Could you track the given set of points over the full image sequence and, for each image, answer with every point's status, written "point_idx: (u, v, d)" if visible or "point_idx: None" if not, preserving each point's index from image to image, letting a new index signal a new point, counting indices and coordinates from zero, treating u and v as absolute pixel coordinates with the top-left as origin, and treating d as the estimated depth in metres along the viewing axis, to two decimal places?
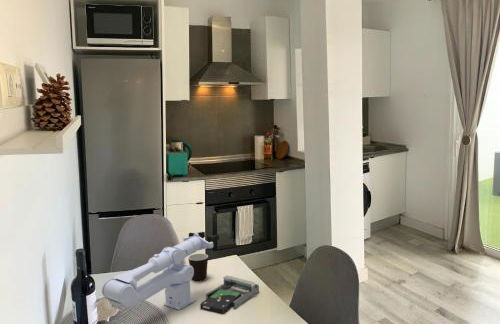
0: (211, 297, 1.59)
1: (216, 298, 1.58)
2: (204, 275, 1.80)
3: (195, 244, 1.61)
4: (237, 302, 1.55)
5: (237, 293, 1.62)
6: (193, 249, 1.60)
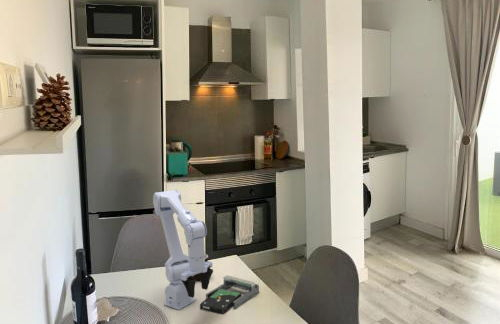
0: (211, 297, 1.59)
1: (216, 298, 1.57)
2: None
3: (194, 261, 1.42)
4: (237, 302, 1.55)
5: (237, 293, 1.62)
6: (188, 256, 1.44)
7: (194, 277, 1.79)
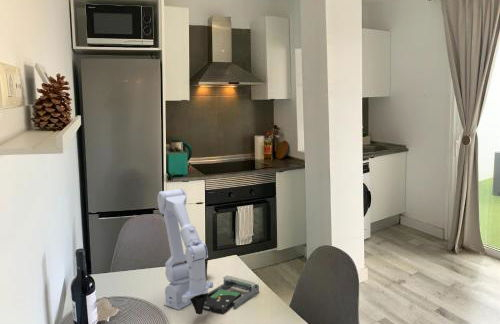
0: (211, 297, 1.59)
1: (216, 298, 1.57)
2: None
3: (195, 283, 1.43)
4: (237, 302, 1.55)
5: (237, 293, 1.62)
6: (189, 277, 1.44)
7: None
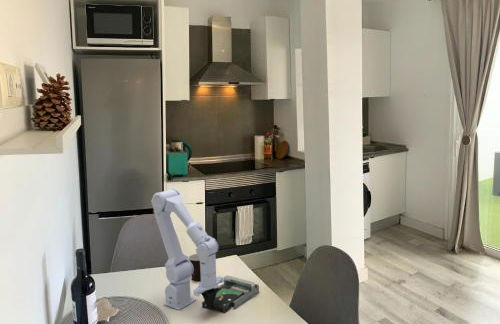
0: None
1: (219, 297, 1.59)
2: None
3: (206, 277, 1.48)
4: (237, 302, 1.55)
5: (239, 292, 1.63)
6: (202, 273, 1.48)
7: (194, 277, 1.79)
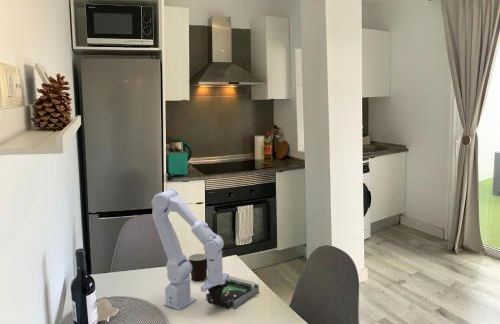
0: None
1: (225, 293, 1.62)
2: (204, 275, 1.80)
3: (212, 274, 1.51)
4: (237, 302, 1.55)
5: (246, 289, 1.65)
6: (211, 270, 1.51)
7: (194, 277, 1.79)
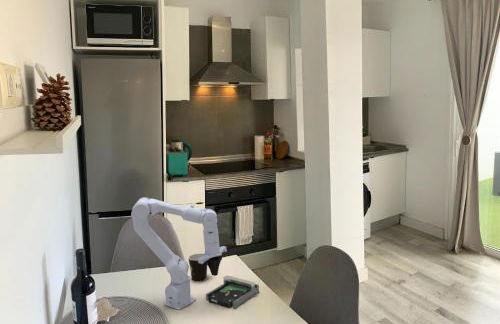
0: (220, 291, 1.64)
1: (225, 293, 1.62)
2: (204, 275, 1.80)
3: (209, 246, 1.56)
4: (237, 302, 1.55)
5: (246, 289, 1.66)
6: (210, 242, 1.55)
7: (194, 277, 1.79)
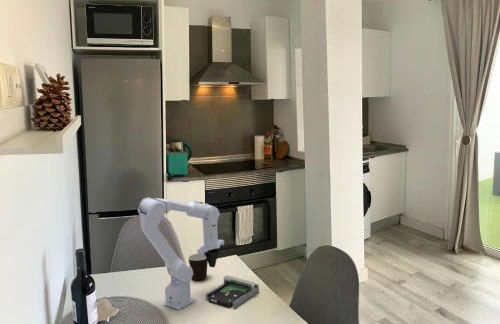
0: (220, 291, 1.64)
1: (225, 293, 1.62)
2: (204, 275, 1.80)
3: (208, 239, 1.64)
4: (237, 302, 1.55)
5: (246, 289, 1.66)
6: (213, 234, 1.64)
7: (194, 277, 1.79)
